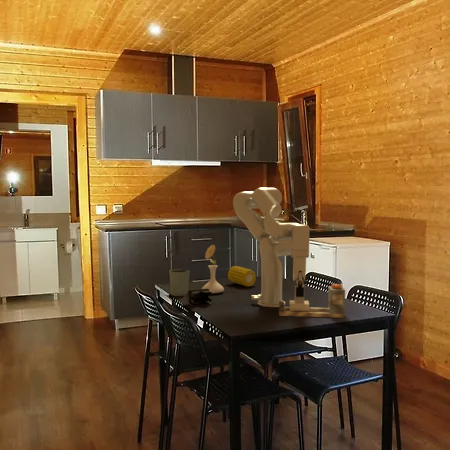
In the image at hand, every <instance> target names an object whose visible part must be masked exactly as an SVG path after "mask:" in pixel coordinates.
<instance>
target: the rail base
mask: <svg viewBox="0 0 450 450" xmlns="http://www.w3.org/2000/svg"><path fill="white" fill-rule="evenodd" d="M327 294H328V296H327V301H328V302H327V303H328V304H327V307H313V306H311V307H310V306H309V311H292V310H290V306H285V305H284V302H285V301H284V300H282V301H279V307H278V316H280V317H282V316H283V317H284V316H286V317H308V318H309V317H313V318H316V317H317V318H345V313H346V312H345V311H346V307H345V306H346V305H345V303H346V302H345V301H346V289H345V288H344V287H343V285H342V287H341V289H334V288H332V285H328V293H327Z"/></svg>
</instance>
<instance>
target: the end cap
mask: <svg viewBox="0 0 450 450" xmlns="http://www.w3.org/2000/svg"><path fill="white" fill-rule="evenodd" d="M212 295H213V293H211V292H210V291H209V289H202V288H200V289H188V292H187V295H186V299H187V303H188V304H189V305H190V306H192V307H202V306H211V305H212V303H211V302H213V301H212V299H213V298H212V297H210V296H212Z"/></svg>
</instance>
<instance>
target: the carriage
mask: <svg viewBox="0 0 450 450" xmlns="http://www.w3.org/2000/svg"><path fill="white" fill-rule="evenodd" d="M296 287H297V285H294V300H293V299H292V300H289V307H290V310H292V311H309V307H310V302H309V300H305V296H304V297H296ZM303 287H304V288H305V285H303Z"/></svg>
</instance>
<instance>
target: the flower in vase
mask: <svg viewBox="0 0 450 450" xmlns="http://www.w3.org/2000/svg"><path fill="white" fill-rule="evenodd" d="M215 252H216V246H215V244H211V245H210V246H209V247H207V250H206V252H205V254H204V255H205V256H204V258H205V259H206V260H208V259H209V261H210V263H211V265H207V268H209V270H210V271H209V272H210V279H209V281H208V282H207V283H206V284H205V285H204V286H202V288H201V289H209V291H210V292H211V293H212V294H220V293H222V292H224V290H225V288H224V286H222V285H221V284H220V283H219V282H218V281H217V280H216V272H217V271H216V270H217V268H218V265H217V260H216V259H215V255H214V253H215ZM211 257H213V259H212V258H211Z"/></svg>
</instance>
